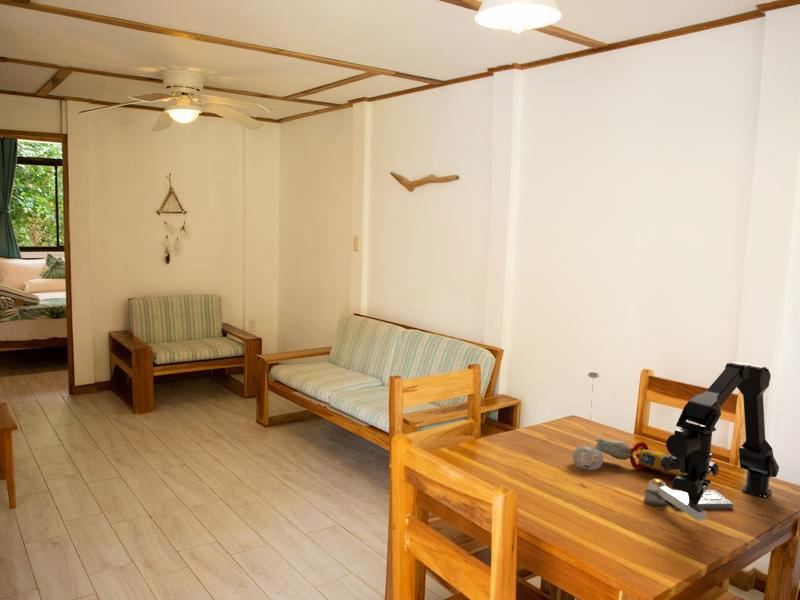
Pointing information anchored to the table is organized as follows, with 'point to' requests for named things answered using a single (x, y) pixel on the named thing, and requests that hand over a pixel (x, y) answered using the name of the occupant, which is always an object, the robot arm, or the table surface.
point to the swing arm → (676, 499)
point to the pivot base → (655, 499)
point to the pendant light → (588, 449)
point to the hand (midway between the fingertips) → (693, 506)
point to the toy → (645, 456)
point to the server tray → (708, 500)
